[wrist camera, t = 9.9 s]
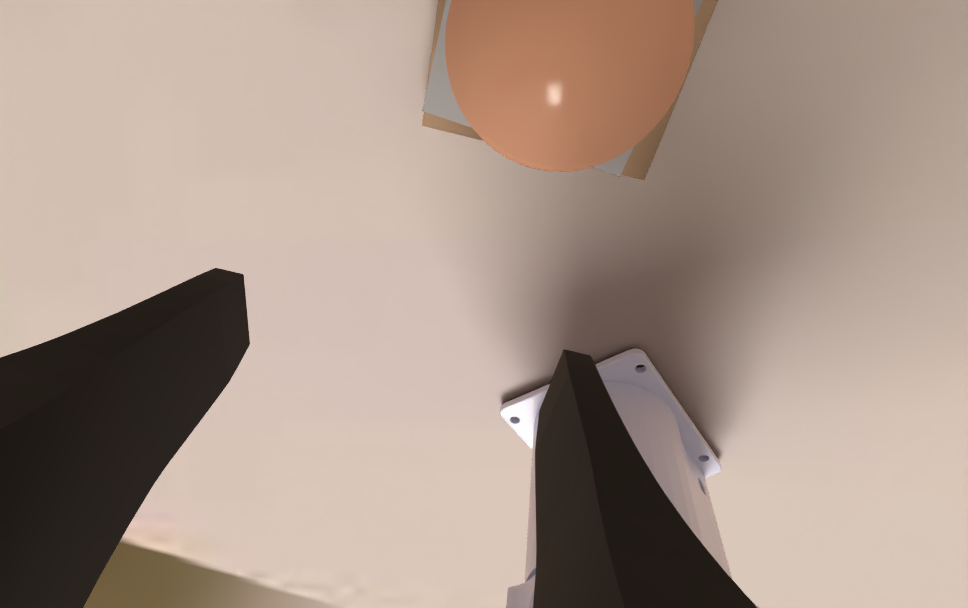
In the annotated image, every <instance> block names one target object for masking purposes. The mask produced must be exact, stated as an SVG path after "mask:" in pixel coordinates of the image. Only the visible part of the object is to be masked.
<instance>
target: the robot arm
mask: <svg viewBox="0 0 968 608" xmlns="http://www.w3.org/2000/svg"><path fill="white" fill-rule="evenodd" d="M249 345H250V341H249V330H248V319H247V308H246V297H245V286H244V275H243V274H240V273H235V272H231V271H227V270H222V269H218V268H215V269H212V270H210V271H207V272H205V273H203V274H200V275H198V276H196V277H194V278H192V279H189V280H187V281H185V282H183V283H181V284H179V285H177V286H174V287H172V288H170V289H168V290H166V291H164V292H162V293H160V294H157V295H155V296H153V297H151V298H149V299H146V300H144V301H142V302H140V303H138V304H136V305H133V306H131V307H129V308H127V309H125V310H122V311H120V312H118V313H116V314H113V315H111V316H109V317H106V318H104V319H101V320H99V321H96V322H94V323H92V324H89V325H87V326H84V327H82V328H80V329H77V330H75V331H72V332H70V333H68V334H65V335H63V336H60V337H58V338H55V339H52V340H50V341H47V342H44V343H42V344H39V345H36V346H33V347H31V348H28V349H25V350H22V351H19V352H16V353H13V354H10V355H7V356H4V357H1V358H0V608H83V607H84V605H85V603H86V601H87V599H88V597H89V595H90V593H91V592H92V590H93V588H94V586H95V584H96V582H97V580H98V578H99V577H100V575H101V573H102V571H103V569H104V568H105V566H106V564H107V562H108V561H109V559H110V557H111V555H112V554H113V552H114V550H115V548H116V546H117V545H118V543H119V541H120V540H121V538H122V536H123V534H124V533H125V531H126V529H127V527H128V526H129V524H130V522H131V521H132V519H133V517H134V516H135V514H136V512H137V511H138V509H139V507H140V506H141V504H142V503H143V501H144V499H145V498H146V496H147V494H148V493H149V491H150V489H151V488H152V486H153V484H154V483H155V481H156V480H157V479H158V477H159V476H160V474H161V473H162V471H163V470H164V468H165V467H166V466H167V464H168V463H169V462H170V460H171V459H172V458H173V456H174V455H175V454H176V452H177V451H178V450H179V448H180V447H181V446H182V444H183V443H184V442H185V440H186V439H187V438H188V436H189V435H190V434H191V432H192V431H193V430H194V428H195V427H196V426H197V424H198V423H199V422H200V420H201V419H202V418H203V416H204V415H205V414H206V412H207V411H208V410H209V408H210V407H211V406H212V404H213V403H214V402H215V400H216V399H217V398H218V396H219V395H220V394H221V392H222V391H223V389H224V388H225V387H226V385H227V384H228V383H229V381H230V379H231V377H232V376H233V374H234V372H235V371H236V369H237V367H238V365H239V363H240V362H241V360H242V358H243V356H244V354H245V352H246V350H247V348H248V347H249ZM637 365H644V366H643V367H640V368H638V367H636V366H637ZM500 415H501V417H502V418H503V419H504V420H505V421H506V422H507V423H508V424H509V425H510V426H511V427H512V429H513V430H514V431H515V432H516V433H517V434H518V435H519V436H520V437H521V438H522V439H523V440H524V442H525V443H526V444H527V445H528V446H529V447H530V448H531V449H532V467H531V485H530V502H529V519H528V537H527V554H526V571H525V583H523V584H520V585H517V586H512V587H509V588H508V593H507V605H506V608H759V607H758V606H756V605H755V604H754V603H753V602H752V601H751V600H750V599H749V598H748V597H747V596H746V595H745V594H744V593H743V591H742V590H741V589H740V588H739V587H738V586H737V585H736V583H735V582H734V581H733V580H732V577H731V573H730V569H729V566H728V562H727V558H726V555H725V551H724V547H723V544H722V540H721V536H720V533H719V529H718V525H717V522H716V518H715V514H714V511H713V507H712V503H711V500H710V496H709V492H708V489H707V485H706V481H705V477H709V476H712V475H715V474H718V473H719V472H720V471H721V469H722V468H721V464H720V461H719V460H718V458H717V457H716V455H715V454H714V453H713V451H712V450H711V448H710V447H709V445H708V444H707V442H706V441H705V439H704V438H703V437H702V435H701V434H700V432H699V431H698V429H697V428H696V426H695V425H694V423H693V422H692V421H691V419H690V418H689V416H688V415H687V413H686V412H685V410H684V409H683V407H682V406H681V405H680V403H679V402H678V400H677V399H676V397H675V396H674V394H673V393H672V392H671V390H670V389H669V387H668V386H667V384H666V383H665V381H664V380H663V378H662V377H661V376H660V374H659V373H658V371H657V370H656V368H655V367H654V365H653V364H652V362H651V361H650V360H649V358H648V357H647V355H646V354H645V352H643V351H642V350H640V349H630V350H627V351H625V352H623V353H620V354H618V355H616V356H613V357H611V358H609V359H606V360H604V361H602V362H599V363H597V364H595V363H594V361H593V359H592V357H591V356H590V355H585V354H581V353H577V352H573V351H568V350H563V353H562V355H561V358H560V360H559V363H558V365H557V368H556V370H555V373H554V375H553V378H552V380H551V383H550V384H548V385H546V386H543V387H541V388H539V389H536V390H534V391H532V392H529V393H527V394H525V395H522V396H520V397H518V398H515V399H513V400H511V401H508V402H506V403H504V404H502V406H501V408H500ZM514 416H515V417H518V418H513V417H514ZM701 455H702V456H701Z"/></svg>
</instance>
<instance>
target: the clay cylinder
mask: <svg viewBox="0 0 968 608" xmlns="http://www.w3.org/2000/svg"><path fill="white" fill-rule="evenodd" d="M694 32H695V18H694V5H693V0H451V3H450V8H449V13H448V17H447V23H446V33H445V58H446V65H447V72H448V77H449V80H450V84H451V88H452V91H453V93H454V96H455V99H456V101H457V104H458V106H459V107H460V109H461V111H462V113H463V115H464V117H465V118H466V120H467V121H468V122H469V124H470V125H471V127H472V128H473V130H474V131H475V132H476V133H477V134H478V135H479V136H480V137H481V138H482V139H483V140H484V141H485V142H486V143H487V144H488V145H489V146H491V147H492V148H493V149H494V150H495V151H497V152H499V153H500V154H502V155H503V156H505V157H506V158H508V159H510V160H512V161H515V162H517V163H519V164H522V165H525V166H528V167H531V168H535V169H540V170H545V171H559V172H562V171H576V170H581V169H586V168H591V167H594V166H597V165H600V164H603V163H605V162H607V161H610V160H612V159H614V158H616V157H618V156H620V155H621V154H623V153H624V152H626V151H628V150H629V149H631V148H632V147H634V146H635V145H636V144H637V143H639V142H640V141H641V140H642V139H644V138H645V137H646V136H647V135H648V134H649V133H650V132H651V131H652V130H653V129H654V128H655V127H656V125H657V124H658V123H659V122H660V120H661V119H662V118H663V117H664V115H665V114H666V113H667V111H668V110H669V108H670V106H671V105H672V103H673V102H674V100H675V98H676V96H677V94H678V92H679V90H680V88H681V86H682V84H683V81H684V78H685V76H686V73H687V70H688V67H689V63H690V59H691V54H692V50H693V42H694Z"/></svg>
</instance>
